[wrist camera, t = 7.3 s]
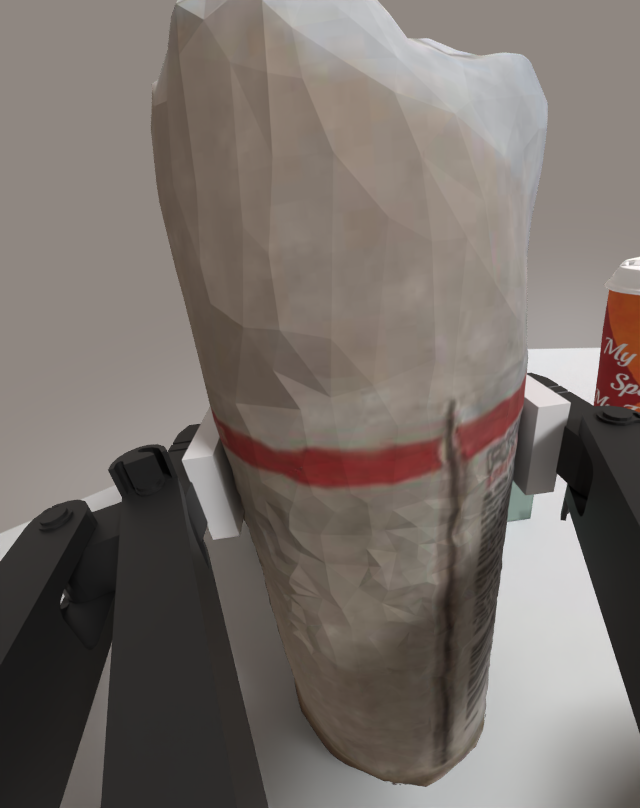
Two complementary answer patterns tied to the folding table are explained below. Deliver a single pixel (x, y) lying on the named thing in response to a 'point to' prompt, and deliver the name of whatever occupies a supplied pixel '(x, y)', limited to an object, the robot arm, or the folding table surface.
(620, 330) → the paper cup
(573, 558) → the folding table surface
